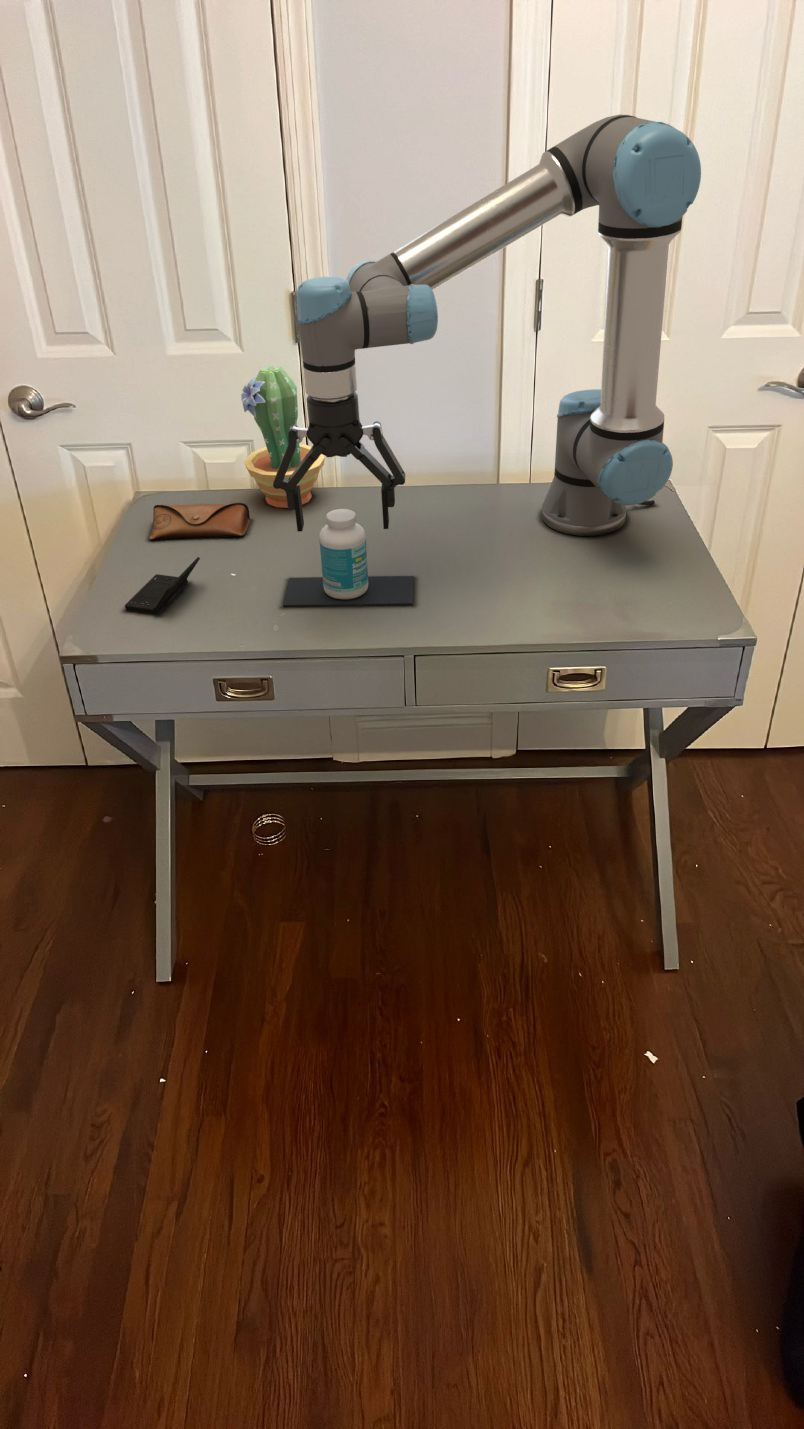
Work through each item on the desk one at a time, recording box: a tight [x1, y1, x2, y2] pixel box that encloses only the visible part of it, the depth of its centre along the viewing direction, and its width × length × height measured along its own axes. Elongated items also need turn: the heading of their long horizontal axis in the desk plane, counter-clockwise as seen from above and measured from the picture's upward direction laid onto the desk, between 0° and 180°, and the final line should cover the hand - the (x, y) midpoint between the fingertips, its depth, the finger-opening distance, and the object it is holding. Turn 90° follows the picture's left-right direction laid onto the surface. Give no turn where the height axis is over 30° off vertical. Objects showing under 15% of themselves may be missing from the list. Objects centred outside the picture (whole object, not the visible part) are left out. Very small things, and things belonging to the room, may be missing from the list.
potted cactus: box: [240, 365, 326, 509], centre depth 187 cm, size 15×15×25 cm
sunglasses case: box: [149, 502, 251, 541], centre depth 184 cm, size 18×7×7 cm, turn 91°
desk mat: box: [282, 575, 415, 608], centre depth 164 cm, size 21×9×1 cm, turn 88°
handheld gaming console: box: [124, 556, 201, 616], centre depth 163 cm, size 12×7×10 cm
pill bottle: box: [318, 508, 369, 599], centre depth 160 cm, size 8×7×14 cm
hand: (343, 526), depth 157 cm, fingers open, 13 cm apart
